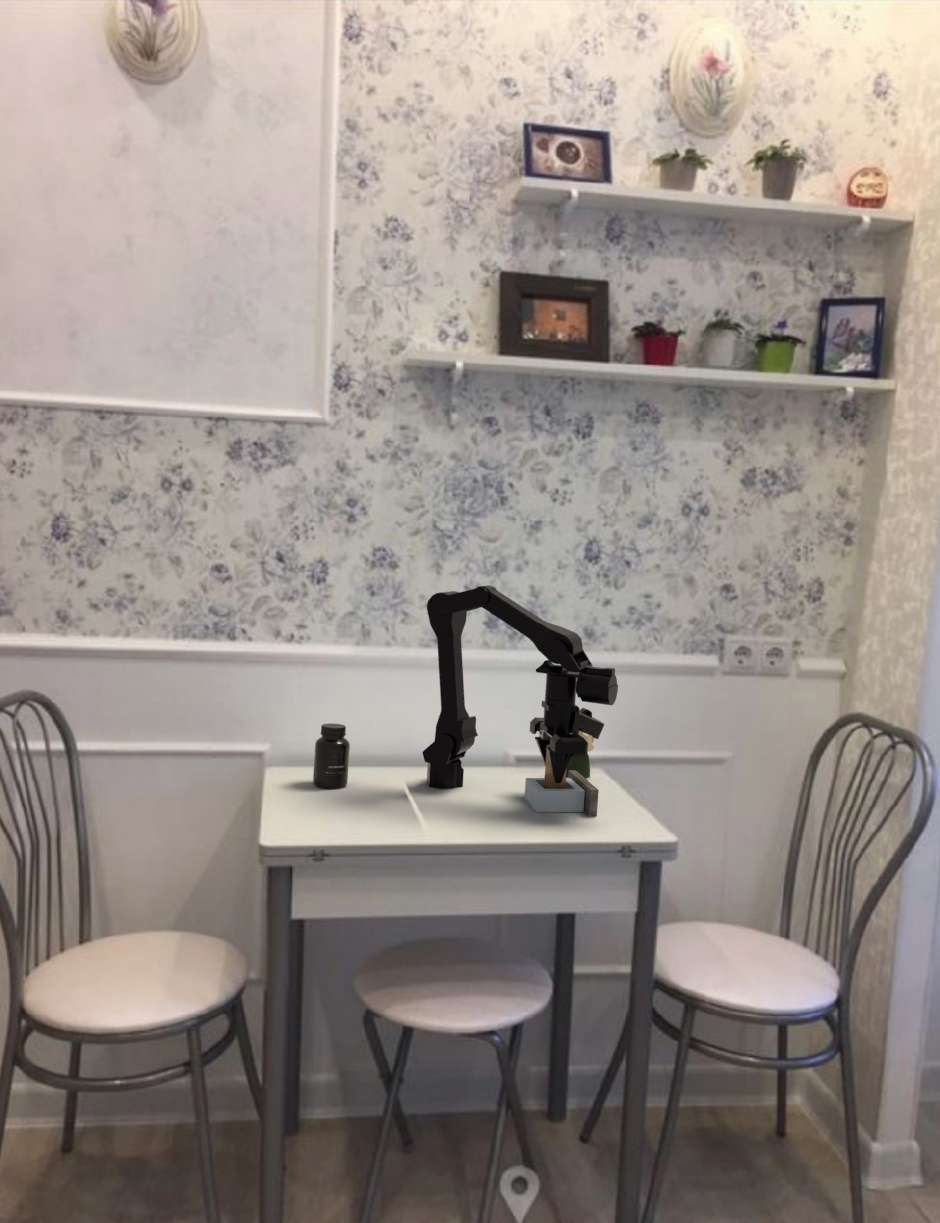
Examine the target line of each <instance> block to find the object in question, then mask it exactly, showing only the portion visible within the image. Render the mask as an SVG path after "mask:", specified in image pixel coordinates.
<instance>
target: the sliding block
mask: <svg viewBox="0 0 940 1223" xmlns="http://www.w3.org/2000/svg"><path fill="white" fill-rule="evenodd" d="M544 781H545V777H526V778H525V783H524V784H525V785H524V800H525V801H526V802H527V803H528V804H529V805H530V807H531V808H533V811H535V812H536V813H583V812H584V811H583V810H584V796H585V791H584V790H583V789H582V788H581V787H580V786H579V785H578V784H576V783H575V782H574V781H573V780H572V779H571V778H566V785H565V789H544Z"/></svg>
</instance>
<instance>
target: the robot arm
mask: <svg viewBox="0 0 940 1223" xmlns="http://www.w3.org/2000/svg"><path fill="white" fill-rule="evenodd" d="M480 608H481V609H482V608H483V609H484V610H485V611H486V612H488V613H489V614H492V615H493V616H495V617H496V618H498V619H499V620H501V622H503V623H505V624H506V625H507V626H509V627H511V628H512V629H514V630H516V631H517V632H519V633H520V634H522V635H523V636H525V637H526V638H527V639H529V640H530V642H532V644H533V645H534V647H535V648H536V649H537V651H538V652H540V653H541V654H542V655H543V656H544V658H546V660H544V661H543V663H541V665H539V666H538V667H536V668H535V673H539V674H546V676H545V691H544V692H545V694H544V700H541V707H542V708H543V717H534V718H532V720H530V722H529V732H530V733H531V734H532V735H536V734H537V733H538V736H535V737H534V740H535V742H536V744H537V747H538V750H539V753H540V755H541V758H542V761H543V764H544V766H545V765H546V750H547V754H548V758H549V762H550V765H551V769H552V773H553V777H554V780H555V782H556V783H561V782H562V779H563V776H564V774H565V771H566V768H567V765H568V763H569V761H570V758H571V757H572V756H574V755H575V754H586V753H587V752H588V742H587V741H586V740H585V739H584V738H583V737H582V736H580V735H579V731H581V732H583V733H586V734H588V735H591V736H592V737H593V738H594V739H596V740H599V739H600V735H601V733H602V731H603V729H604V726H605V723H604V722H602V721H601V720H599V719H598V718H595V717H593V711H591V710H590V709H587V708H585V707H582V708H580V707H579V706H578V705H577V704H576V698H580V701H581V702H584V703H585V702H586V703H591V704H598V705H607V706H613V705H614V704H615V702H616V700H617V696H618V691H619V684H618V679H617V676H616V669H615V668H614V667H601V666H600V667H599V666H593V663H592V662H591V660H590V658H589V656H588V655H587V654H586V652H585V651H584V649H583V645H584V644H583V641H582V638H581V636H580V635H579V634H578V633H576V631H575V632H574V631H572V630H570V629H567V628H566V627H562V626H560V625H558V624H555V623H554V624H553V623H551V622H548V621H545V620H543V619H542V618H540V617H539V616H537V615H536V614H534V613H532V612H531V611H529V610H528V609H526V608H525V607H523V606H521V605H520V604H518V603H517V602H515V601H514V600H513V599H512V598H509V597H508V596H507V595H505V594H503V593H501V591H499V590H498V589H497V588H496V587H495V586H493V585H491V584H489V585H480V586H476V588H472V589H468V590H465V591H460V592H459V591H454V590H453V591H452V590H450V591H443V592H436V593H434V594H433V595H431V597H430V598H429V599H428V600H427V603H426V611H427V616H428V620H429V625H430V627H431V629H432V631H433V633H434V634H435V637H436V641H437V660H438V675H439V676H438V677H439V695H440V713H439V716H438V718H437V721H436V722H437V723H436V725H435V732H434V741H433V742H432V743H431V744H429V745H428V746H427V747H426V748H425V749H424V750H422V756H423V760H424V761H423V762H425V763H426V764H427V772H426V785H427V786H428V788H433V789H439V790H453V789H456V788H463V787H464V770H465V769H464V767H463V766H462V760H461V759H463V758H464V757H465V756H466V753H467V751H468V750H470V749H471V748H472V747H473V745H474V744H475V741H476V737H478V736H479V734H478V732H477V730H476V729H477V728H476V726H477V717H476V715H473V716H470V715H469V713H468V711H467V709H466V704H465V701H466V700H465V687H464V686H465V683H464V667H463V652H462V634H463V632H464V629H465V626H466V623H467V615H468V614H467V613H468V612H470V611H475V610H477V609H480ZM576 695H577V697H576ZM570 733H572V734H570ZM549 744H550V747H547V745H549ZM588 753H589V752H588Z"/></svg>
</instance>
